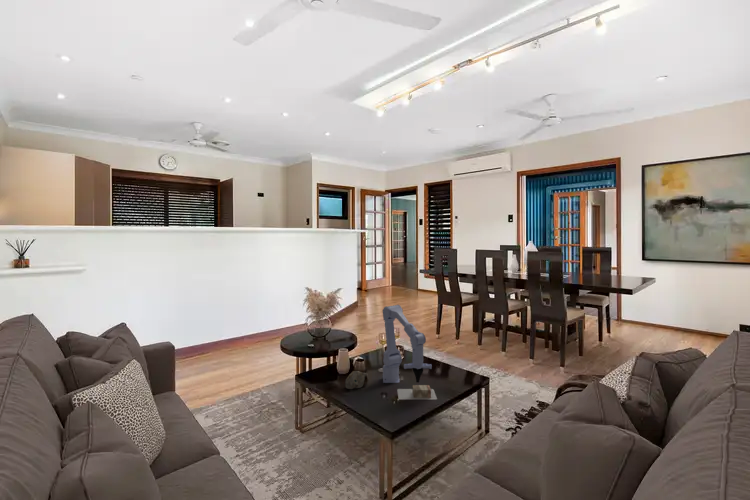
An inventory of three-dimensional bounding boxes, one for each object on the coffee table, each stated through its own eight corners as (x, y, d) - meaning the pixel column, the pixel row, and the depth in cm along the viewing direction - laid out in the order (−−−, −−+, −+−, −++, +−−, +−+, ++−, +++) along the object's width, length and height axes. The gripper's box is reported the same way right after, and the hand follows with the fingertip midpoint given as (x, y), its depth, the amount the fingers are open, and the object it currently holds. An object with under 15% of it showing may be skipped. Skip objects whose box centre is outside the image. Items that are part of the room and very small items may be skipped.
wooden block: (413, 390, 188) (430, 390, 188) (412, 385, 194) (429, 385, 194) (413, 397, 188) (430, 397, 188) (412, 392, 194) (429, 392, 194)
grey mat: (398, 400, 186) (398, 399, 186) (397, 389, 198) (397, 389, 198) (437, 400, 186) (437, 399, 186) (433, 389, 198) (433, 389, 198)
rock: (348, 390, 195) (352, 371, 197) (343, 387, 200) (346, 368, 203) (367, 392, 201) (370, 373, 203) (361, 389, 207) (364, 371, 209)
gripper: (404, 359, 186) (404, 384, 187) (432, 359, 186) (432, 385, 187) (403, 354, 193) (403, 379, 194) (430, 354, 193) (430, 379, 194)
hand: (417, 381), depth 191 cm, fingers closed
